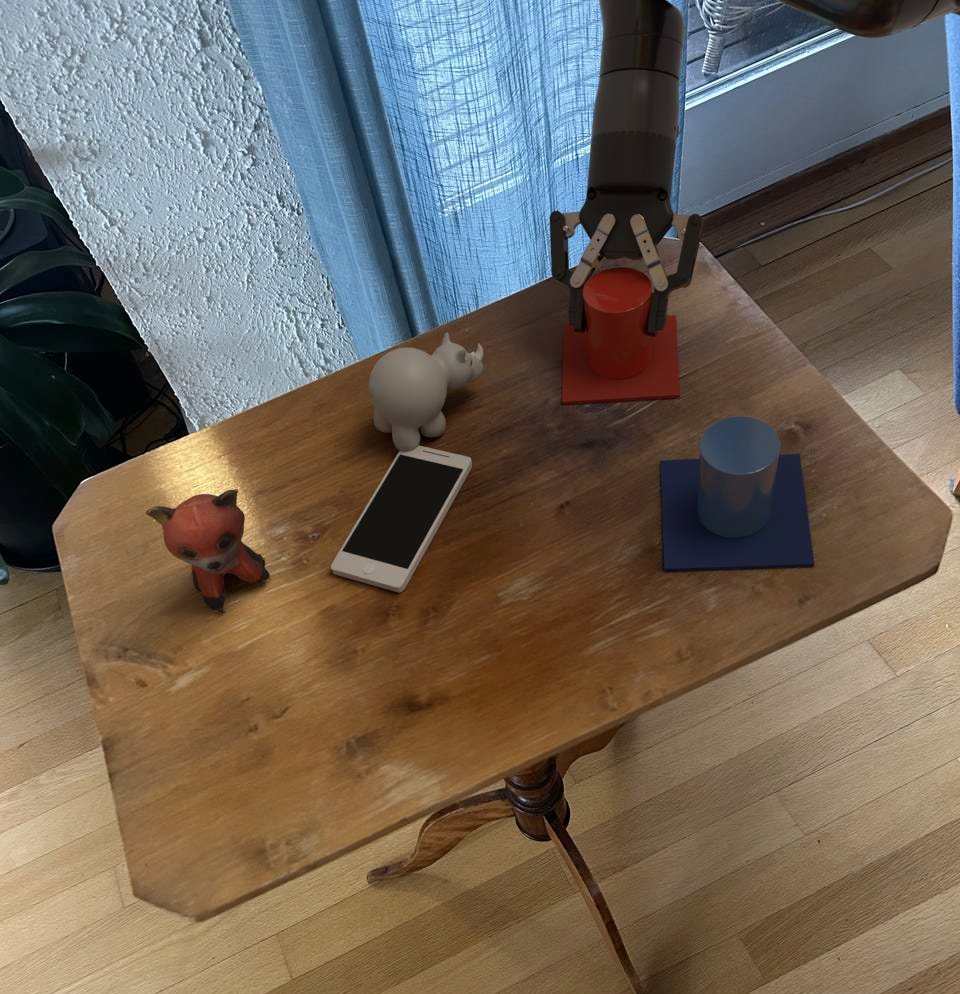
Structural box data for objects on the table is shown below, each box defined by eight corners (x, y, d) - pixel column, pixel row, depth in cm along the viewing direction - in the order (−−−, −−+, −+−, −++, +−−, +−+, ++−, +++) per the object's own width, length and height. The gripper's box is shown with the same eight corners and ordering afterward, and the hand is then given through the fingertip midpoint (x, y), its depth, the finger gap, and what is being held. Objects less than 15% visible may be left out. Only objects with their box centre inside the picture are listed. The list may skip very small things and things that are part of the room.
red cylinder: (651, 332, 100) (651, 264, 94) (653, 377, 97) (652, 309, 90) (588, 337, 101) (583, 269, 95) (587, 381, 98) (582, 315, 91)
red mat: (675, 318, 101) (675, 314, 101) (679, 397, 96) (679, 394, 95) (564, 326, 103) (564, 323, 103) (562, 404, 97) (561, 401, 97)
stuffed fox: (263, 510, 96) (217, 418, 86) (289, 599, 90) (243, 511, 80) (186, 537, 95) (131, 448, 85) (207, 629, 89) (150, 545, 79)
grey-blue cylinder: (768, 480, 88) (777, 413, 82) (774, 537, 85) (784, 472, 78) (695, 483, 89) (697, 417, 83) (698, 539, 86) (701, 476, 79)
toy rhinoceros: (508, 411, 99) (501, 339, 92) (400, 465, 96) (385, 395, 89) (469, 371, 102) (460, 300, 95) (364, 423, 99) (347, 352, 93)
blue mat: (799, 456, 90) (799, 453, 89) (813, 566, 83) (814, 563, 83) (660, 463, 92) (660, 460, 91) (664, 571, 85) (664, 568, 85)
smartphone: (331, 573, 90) (328, 567, 90) (406, 448, 97) (404, 441, 96) (402, 594, 88) (400, 587, 87) (474, 463, 95) (472, 456, 94)
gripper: (545, 126, 89) (530, 327, 93) (713, 126, 85) (691, 335, 89) (562, 147, 96) (548, 333, 100) (718, 148, 92) (697, 340, 96)
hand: (615, 333), depth 95 cm, fingers closed on red cylinder, 6 cm apart
